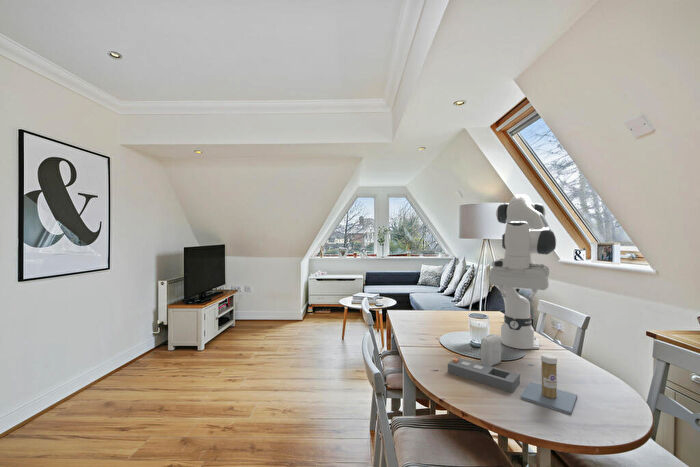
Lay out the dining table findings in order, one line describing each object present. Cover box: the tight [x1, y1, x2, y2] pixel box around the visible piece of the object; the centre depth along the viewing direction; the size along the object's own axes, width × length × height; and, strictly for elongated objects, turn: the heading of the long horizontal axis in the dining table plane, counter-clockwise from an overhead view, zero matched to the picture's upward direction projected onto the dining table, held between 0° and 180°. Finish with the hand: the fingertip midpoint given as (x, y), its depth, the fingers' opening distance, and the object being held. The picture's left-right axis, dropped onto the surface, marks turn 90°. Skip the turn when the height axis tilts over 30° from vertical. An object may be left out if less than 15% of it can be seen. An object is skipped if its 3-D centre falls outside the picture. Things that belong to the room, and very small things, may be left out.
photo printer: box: [480, 333, 502, 367], centre depth 134 cm, size 10×4×12 cm, turn 123°
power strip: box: [447, 356, 521, 394], centre depth 121 cm, size 9×24×4 cm, turn 48°
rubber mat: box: [519, 381, 578, 416], centre depth 106 cm, size 14×14×1 cm
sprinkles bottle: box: [540, 353, 558, 398], centre depth 106 cm, size 5×5×14 cm
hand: (517, 298), depth 120 cm, fingers open, 8 cm apart
